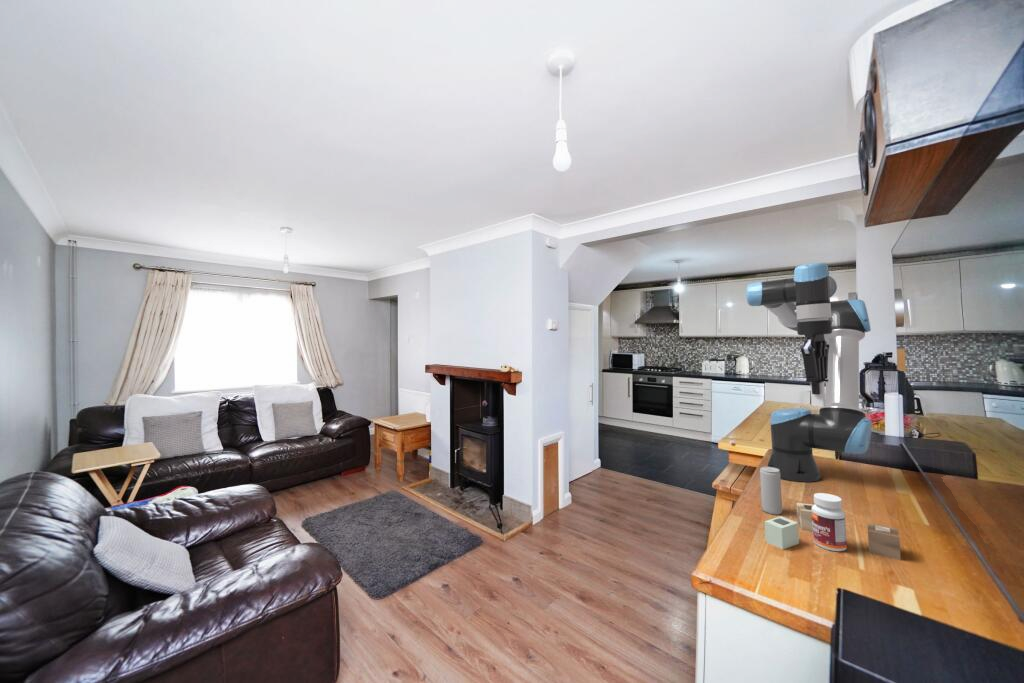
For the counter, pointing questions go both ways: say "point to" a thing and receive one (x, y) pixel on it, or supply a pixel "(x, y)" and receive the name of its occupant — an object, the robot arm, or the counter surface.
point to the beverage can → (771, 490)
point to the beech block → (804, 516)
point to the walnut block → (884, 541)
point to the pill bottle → (829, 522)
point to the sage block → (781, 532)
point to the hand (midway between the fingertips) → (818, 405)
